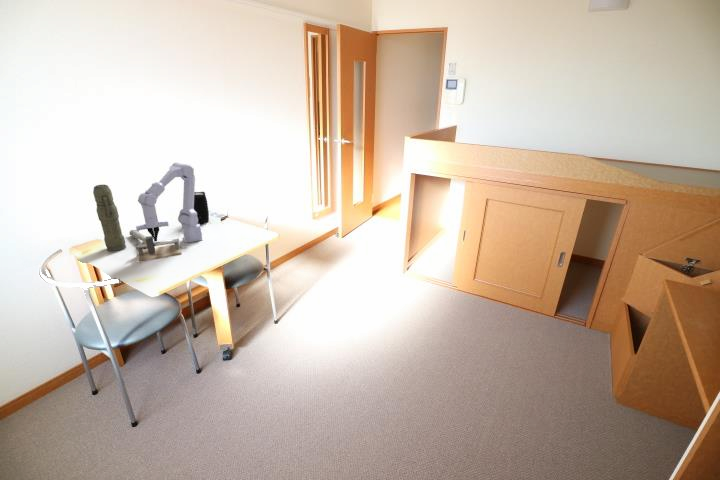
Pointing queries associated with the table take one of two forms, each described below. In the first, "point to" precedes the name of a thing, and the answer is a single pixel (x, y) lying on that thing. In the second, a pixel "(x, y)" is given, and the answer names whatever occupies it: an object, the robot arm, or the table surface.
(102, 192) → the olive green carved statue
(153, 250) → the tall grey prism
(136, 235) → the toothbrush head
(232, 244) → the table surface
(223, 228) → the table surface
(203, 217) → the portable speaker
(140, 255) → the pipe rig
